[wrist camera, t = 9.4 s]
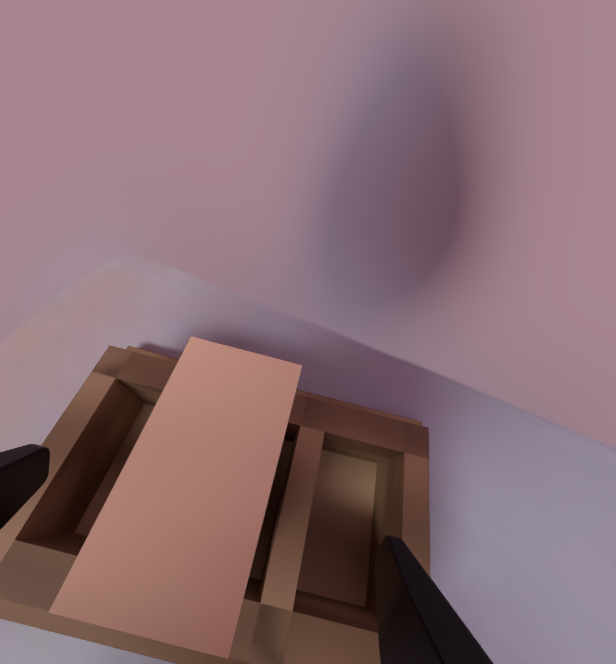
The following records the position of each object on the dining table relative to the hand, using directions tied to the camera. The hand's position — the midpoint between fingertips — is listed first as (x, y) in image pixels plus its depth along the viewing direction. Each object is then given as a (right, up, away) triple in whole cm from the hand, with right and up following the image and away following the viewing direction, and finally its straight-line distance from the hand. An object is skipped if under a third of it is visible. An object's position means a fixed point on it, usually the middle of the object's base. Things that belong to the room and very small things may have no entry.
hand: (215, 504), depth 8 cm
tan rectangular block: (-1, -4, +8) cm, 9 cm away
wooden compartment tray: (-1, -5, +9) cm, 10 cm away
